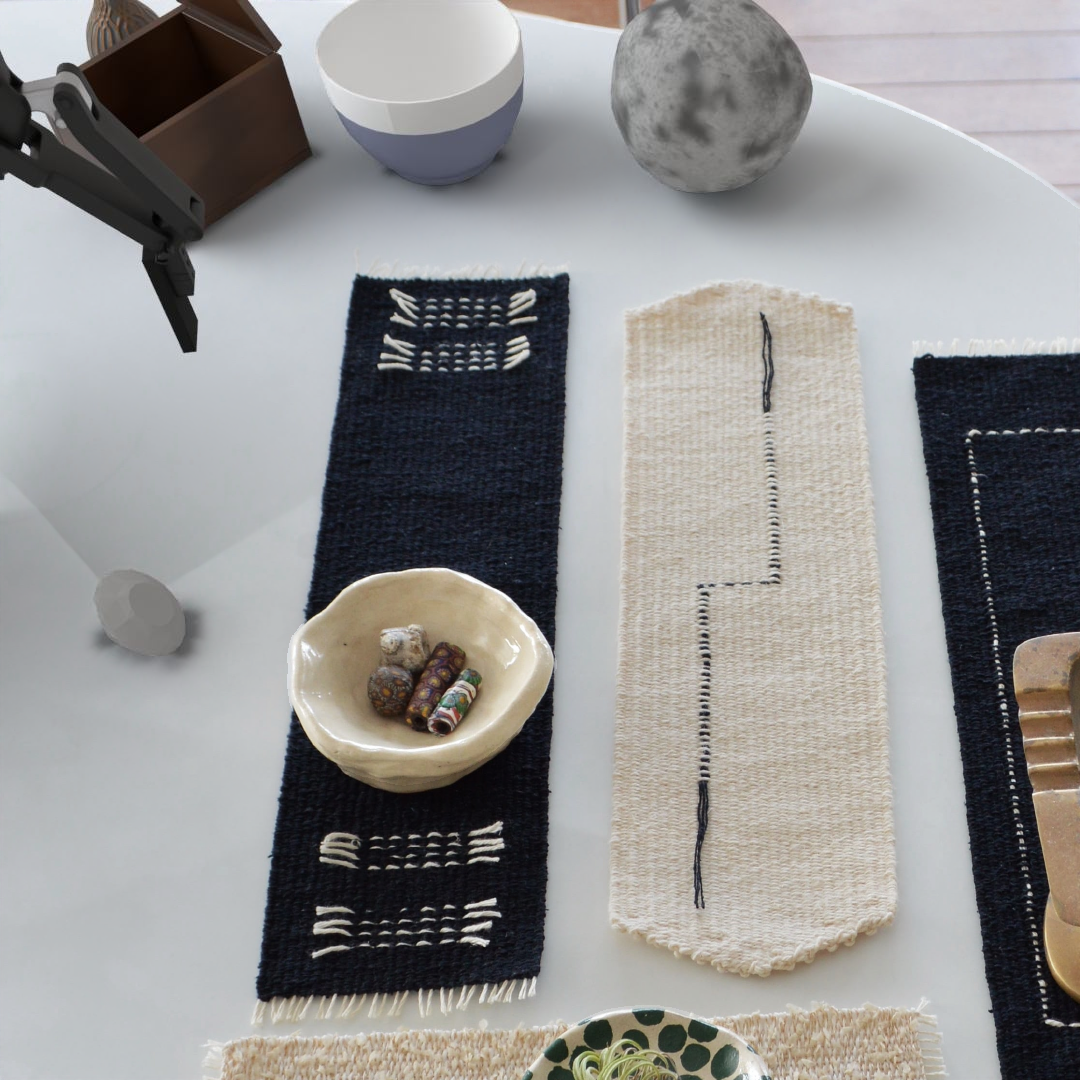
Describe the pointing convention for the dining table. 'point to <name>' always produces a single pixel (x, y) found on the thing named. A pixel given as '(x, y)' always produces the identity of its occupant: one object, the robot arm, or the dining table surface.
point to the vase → (115, 22)
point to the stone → (708, 92)
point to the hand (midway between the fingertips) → (72, 351)
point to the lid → (237, 19)
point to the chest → (201, 106)
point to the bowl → (425, 82)
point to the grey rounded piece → (139, 613)
